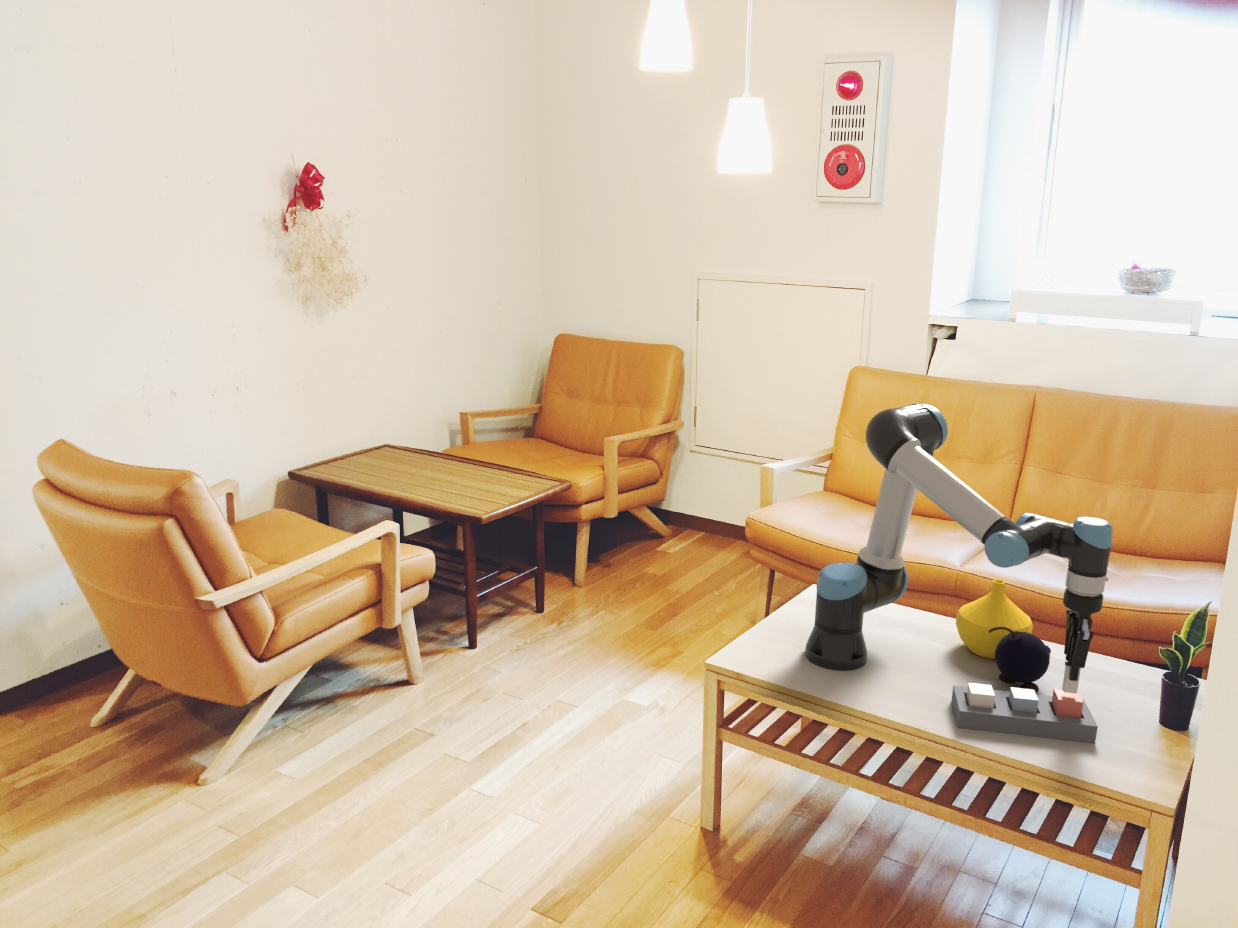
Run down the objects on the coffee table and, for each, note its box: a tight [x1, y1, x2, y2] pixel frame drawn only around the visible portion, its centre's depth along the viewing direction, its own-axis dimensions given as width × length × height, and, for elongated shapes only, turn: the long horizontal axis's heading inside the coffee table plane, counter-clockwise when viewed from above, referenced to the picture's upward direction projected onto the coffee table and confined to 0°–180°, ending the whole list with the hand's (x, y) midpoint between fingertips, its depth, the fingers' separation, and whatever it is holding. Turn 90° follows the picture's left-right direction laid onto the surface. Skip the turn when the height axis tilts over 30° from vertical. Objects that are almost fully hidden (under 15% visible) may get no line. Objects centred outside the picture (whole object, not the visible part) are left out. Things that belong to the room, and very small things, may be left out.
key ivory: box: [966, 682, 995, 708], centre depth 218 cm, size 5×5×4 cm
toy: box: [988, 627, 1052, 693], centre depth 232 cm, size 12×14×15 cm
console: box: [951, 684, 1098, 744], centre depth 217 cm, size 28×12×4 cm, turn 78°
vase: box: [955, 578, 1034, 660], centre depth 249 cm, size 18×18×19 cm
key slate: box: [1008, 686, 1039, 713], centre depth 216 cm, size 5×5×4 cm
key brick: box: [1051, 688, 1083, 718], centre depth 214 cm, size 5×5×4 cm
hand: (1069, 690), depth 213 cm, fingers closed
